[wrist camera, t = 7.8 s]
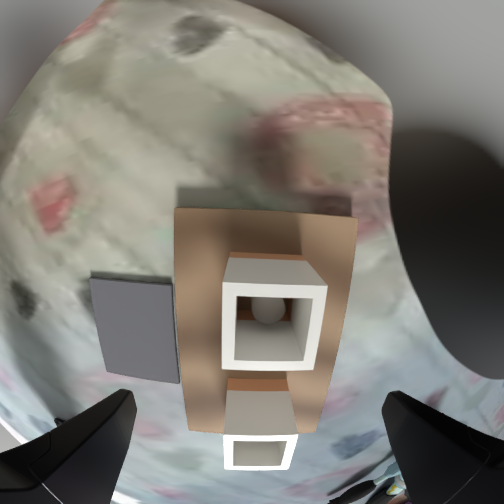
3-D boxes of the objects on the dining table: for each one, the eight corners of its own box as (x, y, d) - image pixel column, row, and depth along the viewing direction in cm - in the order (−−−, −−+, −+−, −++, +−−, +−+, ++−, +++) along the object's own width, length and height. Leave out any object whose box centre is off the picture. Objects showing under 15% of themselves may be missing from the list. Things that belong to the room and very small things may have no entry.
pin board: (312, 423, 23) (322, 458, 18) (190, 421, 22) (183, 457, 18) (352, 216, 18) (382, 224, 14) (178, 207, 18) (157, 212, 13)
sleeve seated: (280, 416, 21) (288, 469, 15) (227, 416, 21) (224, 469, 15) (286, 379, 20) (298, 434, 14) (228, 378, 20) (223, 434, 14)
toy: (331, 540, 24) (333, 500, 16) (325, 511, 32) (319, 445, 24) (454, 488, 24) (520, 398, 16) (441, 465, 31) (490, 367, 23)
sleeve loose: (301, 255, 18) (327, 285, 12) (294, 319, 19) (313, 369, 13) (230, 251, 17) (222, 282, 12) (228, 317, 18) (221, 368, 13)
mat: (180, 381, 21) (179, 384, 21) (108, 369, 21) (107, 371, 20) (172, 283, 19) (171, 285, 19) (91, 277, 19) (89, 278, 18)
